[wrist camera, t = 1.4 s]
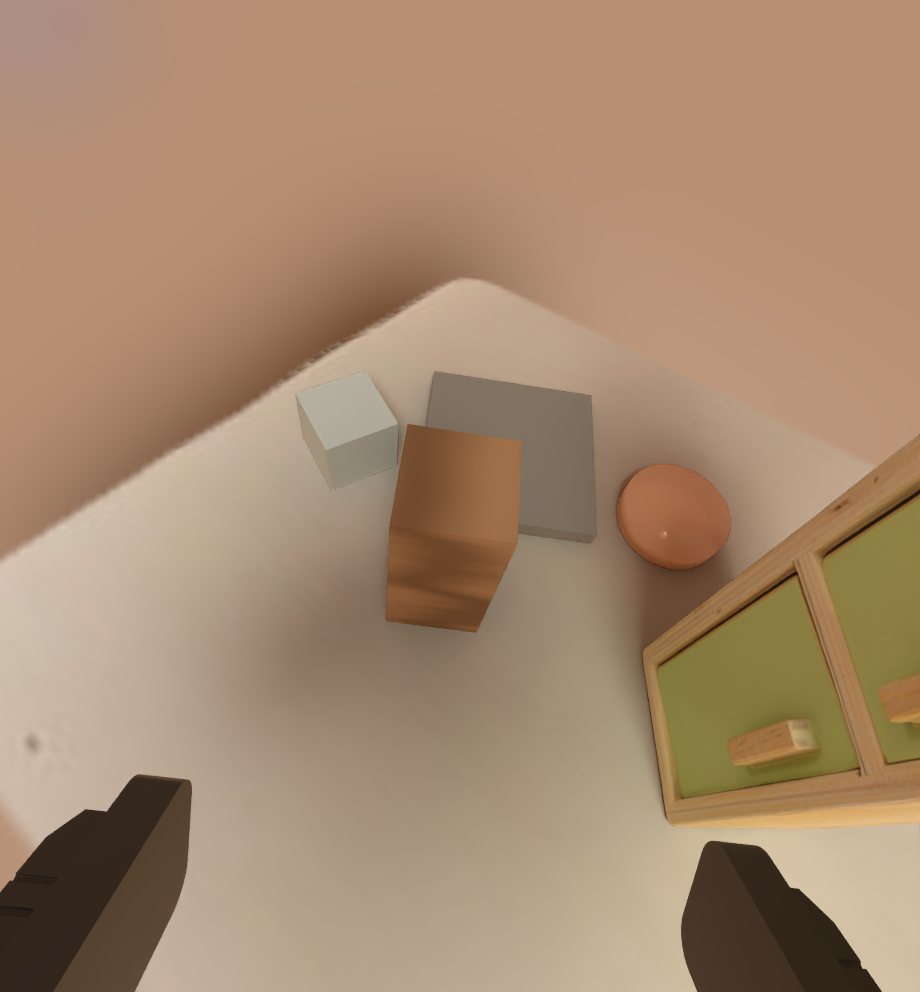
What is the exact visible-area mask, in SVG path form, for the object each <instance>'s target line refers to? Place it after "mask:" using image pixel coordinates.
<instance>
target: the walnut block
mask: <svg viewBox="0 0 920 992" xmlns="http://www.w3.org/2000/svg"><path fill="white" fill-rule="evenodd" d="M521 451H522V441H518V440H511V439H505V438H498V437H491V436H484V435H478V434H471V433H464V432H457V431H451V430H444V429H437V428H430V427H424V426H417V425H410V424H408V425H407V431H406V436H405V442H404V448H403V453H402V459H401V465H400V470H399V476H398V482H397V487H396V493H395V499H394V504H393V510H392V516H391V521H390V532H389V559H388V586H387V613H386V621H391V622H398V623H406V624H414V625H422V626H430V627H437V628H445V629H453V630H461V631H468V632H477V630H478V628H479V626H480V623H481V621H482V619H483V617H484V615H485V613H486V610H487V608H488V606H489V604H490V602H491V600H492V597H493V595H494V593H495V591H496V589H497V587H498V584H499V582H500V580H501V578H502V576H503V574H504V571H505V569H506V567H507V565H508V563H509V561H510V558H511V556H512V554H513V552H514V550H515V548H516V546H517V543H518V520H519V497H520V474H521Z"/></svg>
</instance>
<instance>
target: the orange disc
mask: <svg viewBox="0 0 920 992" xmlns="http://www.w3.org/2000/svg"><path fill="white" fill-rule="evenodd" d="M616 515H617V522H618V525H619V528H620V531H621V533H622V535H623V537H624V538H625V540H626V541H627V543H628V544H629V545H630V546H631V547H632V548H633V549H634V550H635V551H636V552H637V553H638V554H639V555H641V556H642V557H643V558H645V559H646V560H648V561H650V562H652V563H654V564H656V565H659V566H661V567H665V568H669V569H690V568H693V567H696V566H698V565H700V564H702V563H703V562H705V561H706V560H707V559H709V558H710V557H711V556H712V555H713V554H714V553H715V552H717V551H718V550H719V549H720V548H721V547H722V546H723V545H724V543H725V542H726V540H727V538H728V536H729V533H730V527H731V520H730V514H729V510H728V507H727V505H726V503H725V501H724V499H723V498H722V496H721V494H720V493H719V492H718V491H717V489H716V488H715V487H714V486H713V485H712V484H711V483H710V482H708V481H707V480H706V479H705V478H703V477H702V476H700V475H699V474H697V473H695V472H693V471H691V470H689V469H686V468H684V467H680V466H676V465H669V464H660V465H653V466H650V467H647V468H645V469H643V470H641V471H639V472H638V473H637V474H636V475H635V476H634V477H633V478H632V480H631V481H630V482H629V484H628V485H627V487H626V488H625V490H624V491H623V493H622V494H621V496H620V498H619V500H618V503H617V510H616Z"/></svg>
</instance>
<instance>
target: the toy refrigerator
mask: <svg viewBox="0 0 920 992" xmlns="http://www.w3.org/2000/svg"><path fill="white" fill-rule="evenodd" d="M642 657H643V665H644V672H645V679H646V685H647V692H648V697H649V703H650V711H651V718H652V724H653V731H654V737H655V743H656V750H657V756H658V763H659V770H660V776H661V782H662V789H663V796H664V803H665V809H666V815H667V820H668V821H669V823H670V824H671V825H673V826H680V827H728V828H781V829H822V828H839V827H857V826H875V825H892V824H910V823H920V434H919V435H918V436H917V437H915V438H914V439H913V440H912V441H910V442H909V443H908V444H906V445H905V446H904V447H902V448H901V449H900V450H898V451H897V452H896V453H895V454H893V455H892V456H891V457H889V458H888V459H887V460H886V461H884V462H883V463H882V464H880V465H879V466H878V467H877V468H875V469H874V470H873V471H871V472H870V473H869V474H868V475H866V476H865V477H864V478H863V479H861V480H860V481H859V482H858V483H856V484H855V485H854V486H853V487H851V488H850V489H849V490H848V491H846V492H845V493H844V494H843V495H841V496H840V497H839V498H837V499H836V500H835V501H834V502H832V503H831V504H830V505H829V506H827V507H826V508H825V509H824V510H822V511H821V512H820V513H819V514H817V515H816V516H815V517H814V518H812V519H811V520H810V521H808V522H807V523H806V524H805V525H803V526H802V527H801V528H799V529H798V530H797V531H795V532H794V533H793V534H791V535H790V536H789V537H788V538H786V539H785V540H784V541H782V542H781V543H780V544H778V545H777V546H776V547H775V548H773V549H772V550H771V551H769V552H768V553H767V554H766V555H764V556H763V557H762V558H760V559H759V560H758V561H757V562H755V563H754V564H753V565H751V566H750V567H749V568H748V569H746V570H745V571H744V572H742V573H741V574H740V575H739V576H737V577H736V578H735V579H733V580H732V581H731V582H729V583H728V584H727V585H726V586H724V587H723V588H722V589H720V590H719V591H718V592H717V593H715V594H714V595H713V596H711V597H710V598H709V599H707V600H706V601H705V602H704V603H702V604H701V605H700V606H698V607H697V608H696V609H695V610H693V611H692V612H691V613H690V614H688V615H687V616H686V617H684V618H683V619H682V620H680V621H679V622H678V623H677V624H675V625H674V626H673V627H672V628H670V629H669V630H668V631H667V632H665V633H664V634H663V635H661V636H660V637H659V638H658V639H656V640H655V641H654V642H653V643H651V644H650V645H649V646H648V647H646V648H645V649H644V650H643V655H642Z"/></svg>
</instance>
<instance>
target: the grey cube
mask: <svg viewBox="0 0 920 992" xmlns="http://www.w3.org/2000/svg"><path fill="white" fill-rule="evenodd" d="M295 396H296V401H297V407H298V412H299V418H300V423H301V428H302V434H303V439H304V440H305V442H306V444H307V446H308V448H309V450H310V452H311V454H312V456H313V458H314V460H315V461H316V463H317V465H318V467H319V469H320V471H321V473H322V475H323V477H324V479H325V481H326V482H327V484H328V486H329V488H330V490H331V491H333V490H336V489H339V488H341V487H344V486H346V485H349V484H351V483H354V482H356V481H359V480H361V479H364V478H367V477H369V476H372V475H374V474H377V473H379V472H382V471H384V470H387V469H390V468H392V467H395V466H396V464H397V444H398V422H397V420H396V419H395V417H394V416H393V414H392V412H391V411H390V409H389V408H388V406H387V404H386V403H385V401H384V400H383V398H382V396H381V395H380V393H379V391H378V390H377V388H376V387H375V385H374V383H373V382H372V380H371V379H370V377H369V375H368V374H367V372H366V371H363V372H359V373H356V374H353V375H350V376H347V377H344V378H341V379H338V380H335V381H331V382H328V383H325V384H322V385H319V386H316V387H313V388H310V389H307V390H303V391H300V392H297V393H295Z"/></svg>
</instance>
